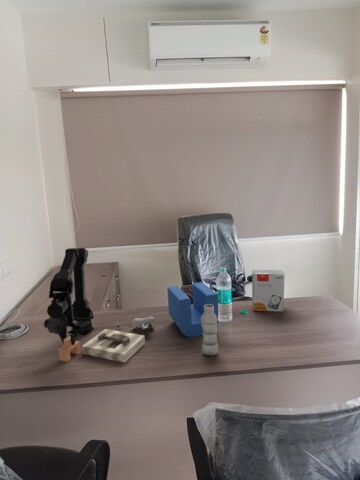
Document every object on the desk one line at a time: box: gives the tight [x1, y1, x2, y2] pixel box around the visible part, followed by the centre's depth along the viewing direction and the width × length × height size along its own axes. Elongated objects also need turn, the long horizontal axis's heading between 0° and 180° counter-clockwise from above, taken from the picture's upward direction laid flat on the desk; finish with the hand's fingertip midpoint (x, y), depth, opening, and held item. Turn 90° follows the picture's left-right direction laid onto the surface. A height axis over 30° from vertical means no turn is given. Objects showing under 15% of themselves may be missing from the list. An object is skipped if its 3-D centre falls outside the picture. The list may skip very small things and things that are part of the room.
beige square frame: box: [81, 328, 146, 363], centre depth 140 cm, size 20×16×5 cm
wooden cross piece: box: [57, 335, 82, 363], centre depth 135 cm, size 4×8×8 cm, turn 157°
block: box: [167, 281, 219, 338], centre depth 155 cm, size 18×18×18 cm
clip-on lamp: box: [117, 316, 156, 335], centre depth 154 cm, size 12×6×18 cm
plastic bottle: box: [201, 304, 220, 357], centre depth 131 cm, size 6×7×20 cm
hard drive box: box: [251, 269, 285, 313], centre depth 172 cm, size 16×8×20 cm, turn 81°
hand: (69, 344), depth 135 cm, fingers open, 4 cm apart
